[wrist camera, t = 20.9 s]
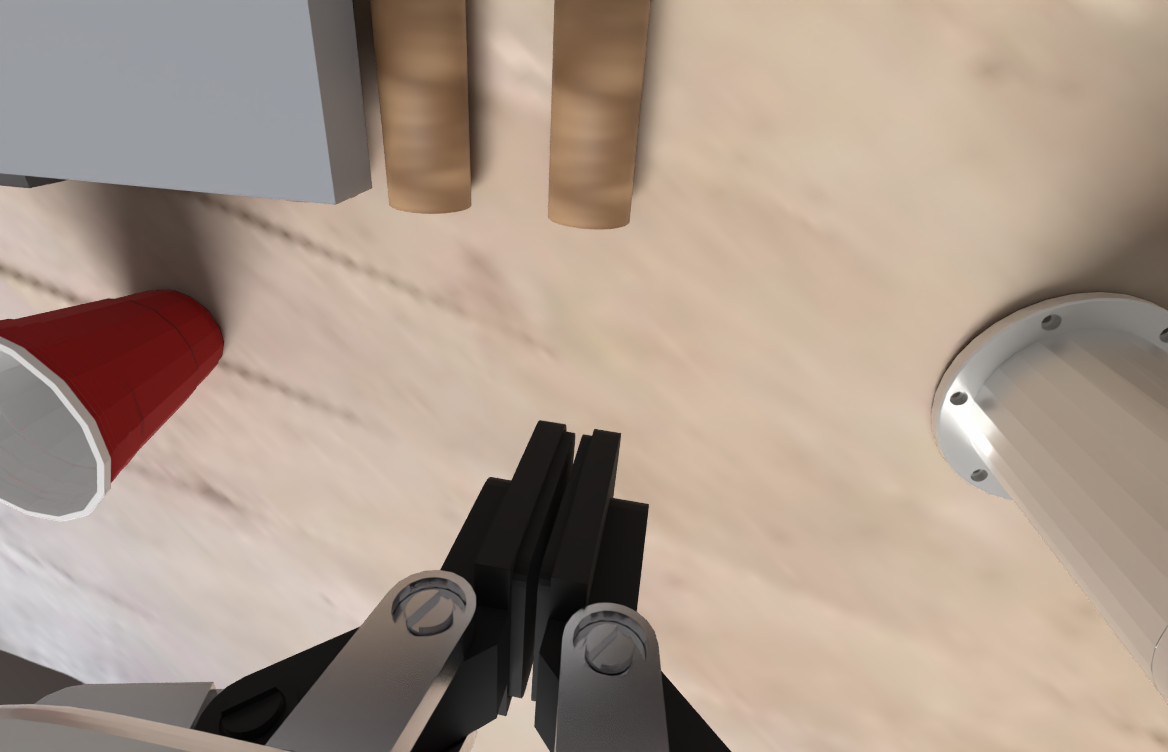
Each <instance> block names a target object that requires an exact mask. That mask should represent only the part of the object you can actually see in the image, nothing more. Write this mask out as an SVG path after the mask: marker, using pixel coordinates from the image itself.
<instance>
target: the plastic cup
mask: <svg viewBox="0 0 1168 752" xmlns="http://www.w3.org/2000/svg"><path fill="white" fill-rule="evenodd" d="M223 344H224V342H223V339H222V335H221V332H220V328H219V326H218V325H217V323H216V322H215V320H214V319H213V317H212V316H211V314H210V313H209V312H208V311H207V310H206V309H205V308H204V307H203V306H201V305H200V304H199V303H198V302H196V301H195V300H194V299H193V298H191V297H188V296H186V295H184V294H181V293H179V292H177V291H169V290H156V291H151V290H149V291H144V292H140V293H136V294H132V295H128V296H124V297H120V298H116V299H109V298H108V299H104V300H99V301H95V302H90V303H86V304H81V305H77V306H72V307H68V308H63V309H59V310H54V311H50V312H45V313H41V314H36V315H32V316H27V317H23V318H19V319H5V320H0V502H2V503H4V504H6V505H8V506H10V507H12V508H14V509H16V510H18V511H20V512H22V513H24V514H26V515H29V516H34V517H39V518H45V519H50V520H56V521H61V522H64V521H68V520H72V519H76V518H80V517H84V516H88V515H90V514H91V513H92V512H93V510H94V509H95V508H96V507H97V505H98V504H99V503H100V502H101V500H102V499H103V498H104V496H105V495H106V494H107V492H108V491H109V490H110V488H111V482H112V481H113V480H114V479H115V478H116V477H117V475H118V474H119V473H120V471H121V470H122V469H123V468H124V467H125V466H126V465H127V464H128V463H129V462H130V460H131V459H132V458H133V457H134V455H135V454H136V453H137V451H138V450H139V449H140V448H141V447H142V446H143V445H144V444H145V443H146V442H147V441H148V440H149V439H150V438H151V437H152V436H153V435H154V434H155V433H156V432H157V431H158V429H159V428H160V427H161V426H162V425H163V424H164V423H165V422H166V421H167V420H168V419H169V418H170V417H171V416H172V415H173V414H174V413H175V412H176V411H177V410H178V409H179V408H180V406H181V405H182V404H183V403H184V402H185V401H186V400H187V399H188V398H189V396H190V395H191V394H192V393H193V391H194V390H195V389H196V387H197V386H198V385H199V384H200V383H201V382H202V381H203V380H204V379H205V378H206V377H207V376H208V375H209V374H210V372H211V371H212V370H213V369H214V367H215V366H216V365H217V364H218V361H219V360H220V358H221V357H222V352H223Z"/></svg>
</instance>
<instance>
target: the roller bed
mask: <svg viewBox="0 0 1168 752" xmlns="http://www.w3.org/2000/svg"><path fill="white" fill-rule="evenodd" d="M650 2H651V0H555V5H554V37H553V70H552V103H551V135H550V168H549V201H548V218H549V219H550V220H551V221H553V222H555V223H558V224H561V225H564V226H569V227H575V228H582V229H613V228H619V227H623V226H625V225H627V224H628V223H629V221H630V211H631V200H632V190H633V179H634V169H635V158H636V148H637V137H638V127H639V117H640V106H641V96H642V85H643V75H644V64H645V54H646V44H647V33H648V23H649V12H650ZM370 7H371V17H372V28H373V38H374V49H375V59H376V70H377V80H378V91H379V101H380V112H381V123H382V133H383V144H384V154H385V165H386V175H387V186H388V196H389V205H390V206H391V207H392V208H395V209H397V210H401V211H406V212H412V213H425V214H439V213H451V212H457V211H462V210H465V209H467V208H469V207H470V206H471V175H470V141H469V108H468V75H467V42H466V8H465V0H370ZM356 196H357V195H356ZM353 197H355V196H353ZM351 198H352V197H351ZM287 201H291V200H287ZM294 202H302V201H294Z"/></svg>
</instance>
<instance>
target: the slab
mask: <svg viewBox="0 0 1168 752" xmlns="http://www.w3.org/2000/svg"><path fill="white" fill-rule="evenodd" d="M0 173H3V174H14V175H25V176H35V177H46V178H57V179H67V180H78V181H89V182H99V183H110V184H121V185H131V186H142V187H153V188H163V189H174V190H185V191H195V192H206V193H217V194H227V195H238V196H249V197H259V198H270V199H281V200H291V201H302V202H313V203H324V204H334V205H336V204H338V203H340V202H342V201H345V200H347V199H349V198H351V197H353V196H356V195H358V194H360V193H362V192H364V191H367V190H369V189H371V188H372V181H371V172H370V162H369V153H368V144H367V134H366V125H365V116H364V106H363V97H362V88H361V78H360V69H359V60H358V50H357V41H356V31H355V22H354V13H353V3H352V0H0Z"/></svg>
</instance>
